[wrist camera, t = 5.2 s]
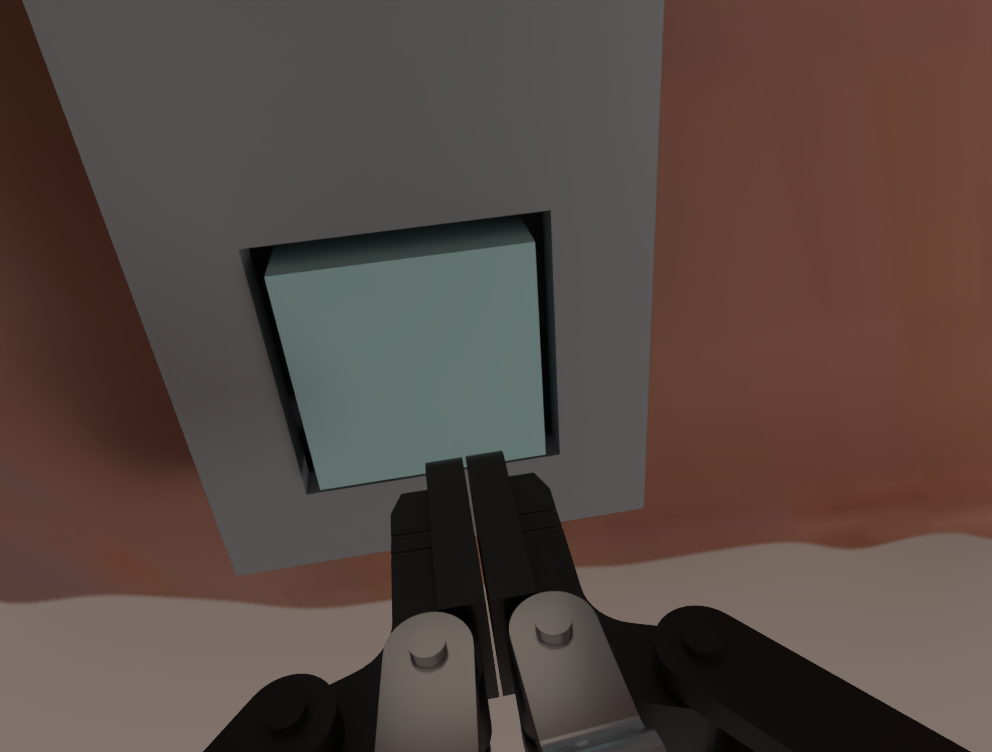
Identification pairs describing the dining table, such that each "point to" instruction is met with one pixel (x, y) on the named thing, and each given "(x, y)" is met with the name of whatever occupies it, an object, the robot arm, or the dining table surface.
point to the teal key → (412, 346)
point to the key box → (368, 213)
